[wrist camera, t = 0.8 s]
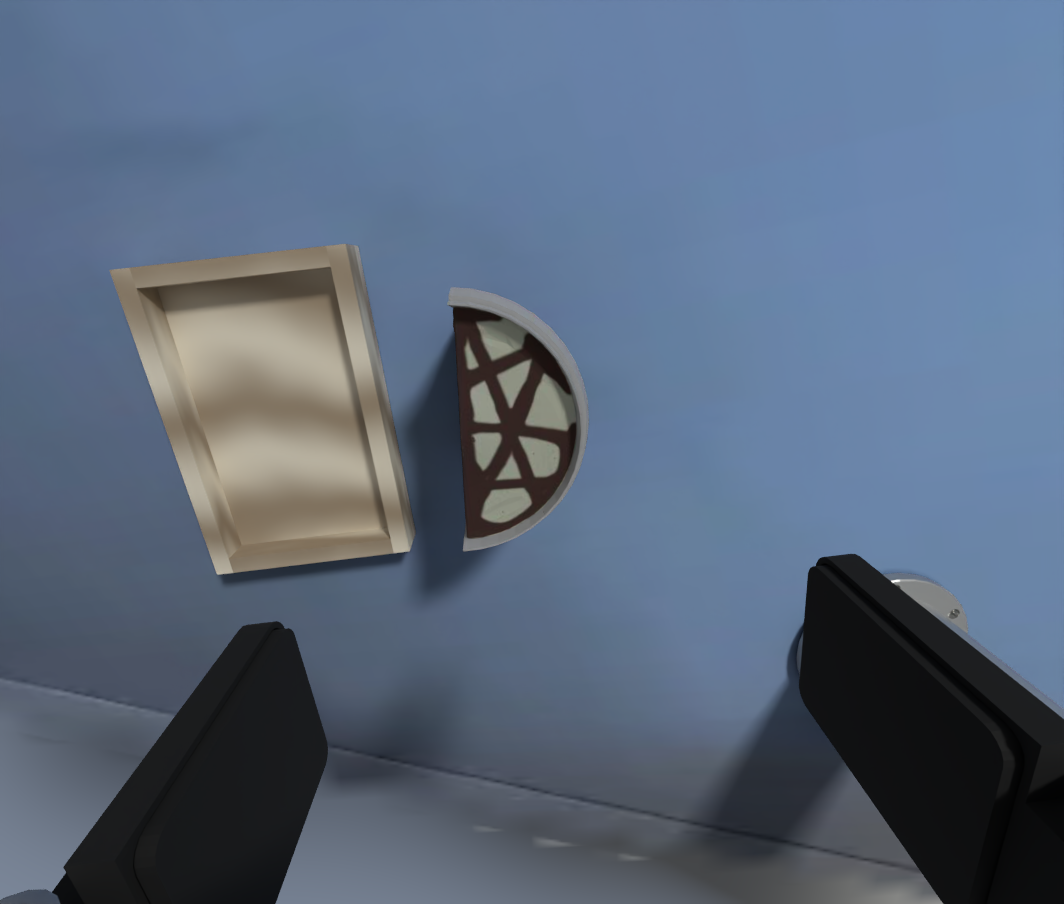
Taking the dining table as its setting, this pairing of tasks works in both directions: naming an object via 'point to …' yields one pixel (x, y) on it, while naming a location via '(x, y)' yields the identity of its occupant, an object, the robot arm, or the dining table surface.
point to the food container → (513, 416)
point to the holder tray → (274, 404)
